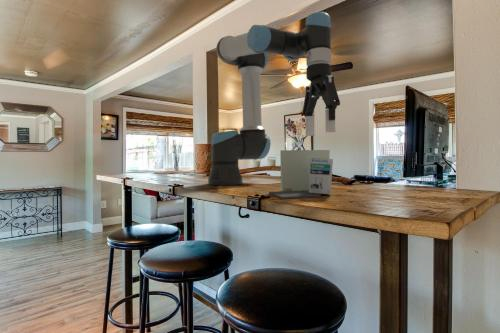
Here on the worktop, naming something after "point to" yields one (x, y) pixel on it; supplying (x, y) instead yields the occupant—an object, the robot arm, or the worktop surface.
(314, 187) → the light bulb box
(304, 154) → the screen
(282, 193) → the mat
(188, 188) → the worktop surface
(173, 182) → the worktop surface
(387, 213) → the worktop surface
